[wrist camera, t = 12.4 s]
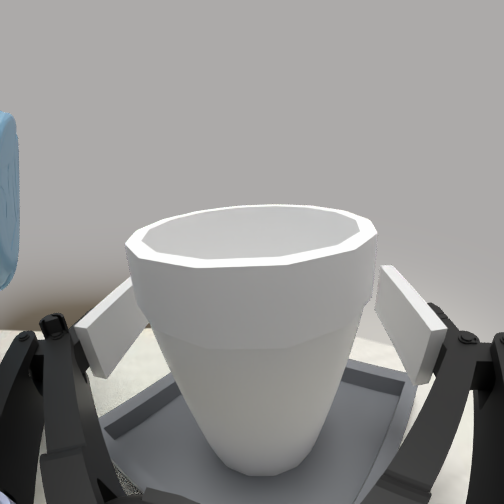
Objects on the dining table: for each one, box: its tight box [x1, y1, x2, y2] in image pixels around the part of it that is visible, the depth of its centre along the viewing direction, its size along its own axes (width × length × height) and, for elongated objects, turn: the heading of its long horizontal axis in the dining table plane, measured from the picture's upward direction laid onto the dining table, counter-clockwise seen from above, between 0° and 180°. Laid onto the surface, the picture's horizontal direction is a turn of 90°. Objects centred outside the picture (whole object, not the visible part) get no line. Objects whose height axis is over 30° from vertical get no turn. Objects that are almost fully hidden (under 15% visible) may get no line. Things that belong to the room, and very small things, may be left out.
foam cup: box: [125, 204, 378, 476], centre depth 13 cm, size 10×9×13 cm
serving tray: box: [98, 359, 418, 504], centre depth 15 cm, size 16×16×2 cm
